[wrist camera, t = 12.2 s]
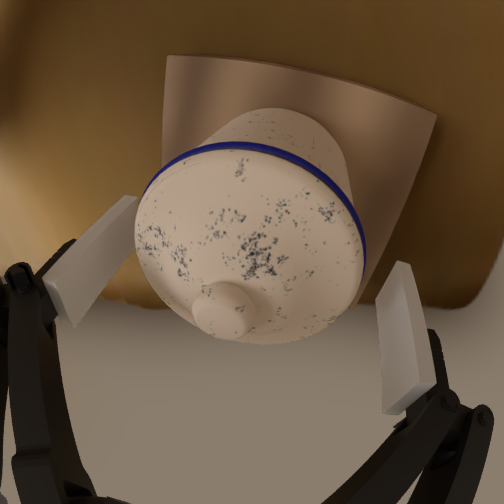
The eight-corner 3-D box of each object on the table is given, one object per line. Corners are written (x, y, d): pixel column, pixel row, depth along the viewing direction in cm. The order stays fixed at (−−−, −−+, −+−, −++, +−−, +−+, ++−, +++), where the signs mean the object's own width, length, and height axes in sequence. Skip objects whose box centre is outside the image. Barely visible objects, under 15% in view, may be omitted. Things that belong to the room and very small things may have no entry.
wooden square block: (181, 234, 28) (163, 261, 25) (192, 53, 18) (167, 55, 15) (351, 276, 27) (353, 309, 23) (417, 103, 17) (437, 114, 14)
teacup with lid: (183, 131, 18) (49, 232, 8) (327, 84, 14) (338, 132, 5) (250, 278, 24) (204, 417, 15) (369, 259, 20) (381, 417, 11)
